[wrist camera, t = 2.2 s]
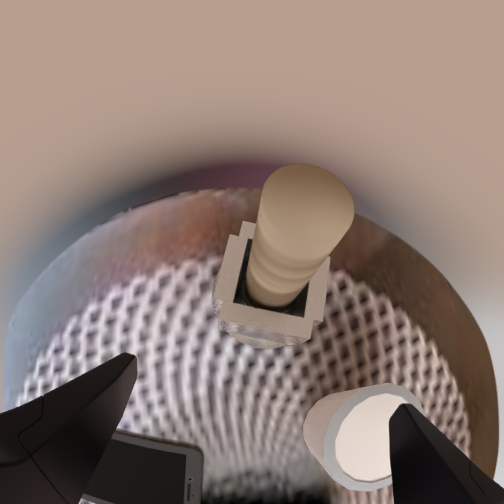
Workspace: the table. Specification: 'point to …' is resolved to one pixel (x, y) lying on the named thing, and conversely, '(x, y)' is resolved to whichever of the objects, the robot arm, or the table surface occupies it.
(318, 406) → the white short cylinder
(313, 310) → the stand
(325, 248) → the post
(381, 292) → the table surface
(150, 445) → the cell phone
